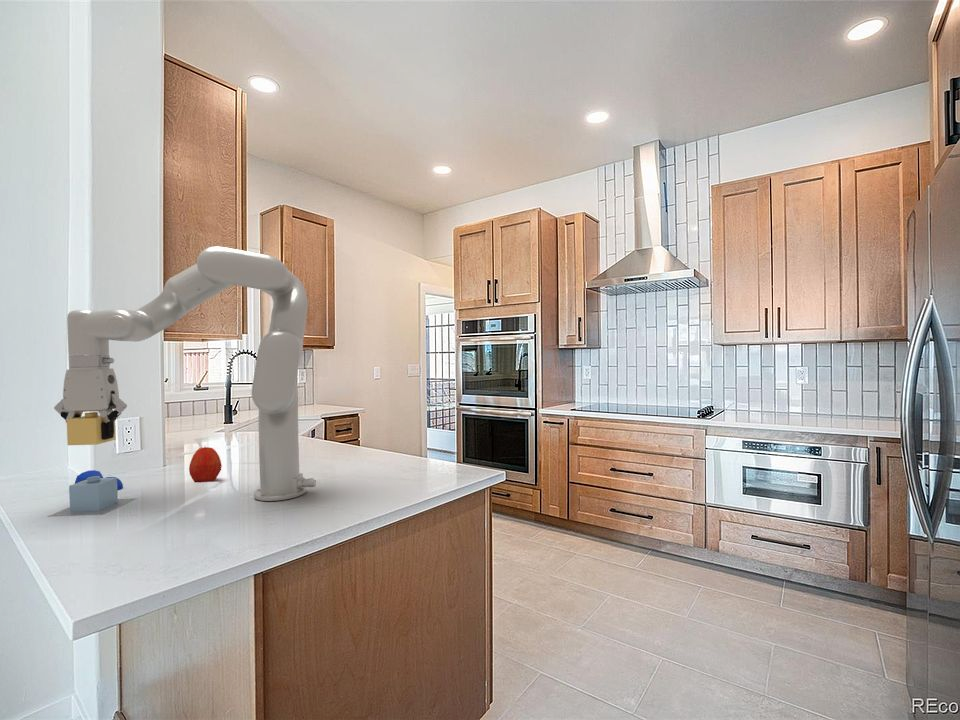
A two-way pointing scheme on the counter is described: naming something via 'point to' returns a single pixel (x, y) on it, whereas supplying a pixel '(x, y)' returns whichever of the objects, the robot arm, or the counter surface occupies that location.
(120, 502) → the baseplate
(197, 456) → the apple
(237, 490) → the counter surface
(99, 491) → the blue brick
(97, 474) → the toy
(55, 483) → the counter surface
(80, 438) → the ochre brick
